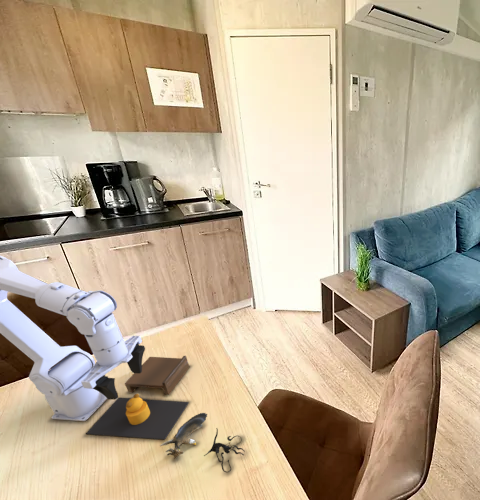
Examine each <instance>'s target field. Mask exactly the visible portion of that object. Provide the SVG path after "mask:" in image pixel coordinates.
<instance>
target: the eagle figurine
mask: <svg viewBox="0 0 480 500" xmlns="http://www.w3.org/2000/svg"><path fill="white" fill-rule="evenodd" d="M207 417H208V413H206V412H200V413H197V414H195V415H194V416H192V417H191V418H189V419H188V420H187V421H185V422H184V423H183V424H182V425H181V426H180V427H179V428H178V429H177V432H176V433H175V434H174V435H173V437H172V438H171V439H169V440H167V441H165V442H163V443H160V444H159V445H158V446H160V447H162V446H169V445H171V444H174V449H173V448H169V449H166V450H165V453H166V456H173V459H174V460H176V459H177V458H178V457H179V455H182V454H184V451H183V450H180V449H181V446H186V445H194V446H196V445H197V443H196V441H195V439H193V438H190V436H191V435H192V433H193V432H195V431H196V430H198V429H200V428H202V427H203V423H204V422H206V420H207ZM168 452H169V453H168Z"/></svg>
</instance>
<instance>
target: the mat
mask: <svg viewBox="0 0 480 500" xmlns="http://www.w3.org/2000/svg"><path fill="white" fill-rule="evenodd" d="M131 398H132V397H118V398H117V399H116V400H115V401H114V402H113V403H112V404H111V405H110V406H109V407H108V409H106V411H105V412H104V413H103V414H102V415H101V416H100V417H99V418H98V420H96V422H95V423H94V424H93V425H92V426H91V427H90V428H89V429H88V431H87V432H86V433H85V434H86V435H88V436H89V435H91V436H103V437H116V438H117V437H118V438H128V439H129V438H131V439H144V440H159V441H165V440H166V439H167V437H168V436H169V434H170V433H171V431H172V430H173V428H174V426H175V425H176V424H177V422H178V420H179V419H180V417H181V416H182V414H183V413H184V411H185V410H186V408H187V406H188V405H189V401H179V400H165V399H163V400H162V399H149V398H141V399H142V400H143V401H145V402H146V403H147V405H148V408H149V410H150V415H149V417H148V418H147V419H146V420H145V421H144V422H142V423H140V424H137V425H132V424H130V422H129V420H128V418H127V416H126V411H127V409H126V404H127V402H128V401H129V400H130V399H131Z"/></svg>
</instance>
